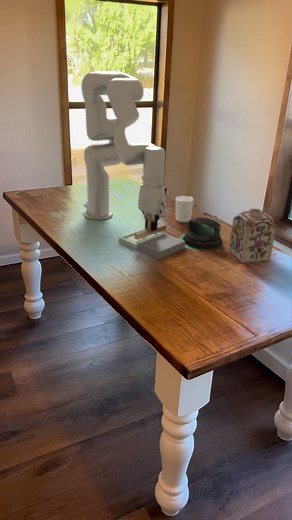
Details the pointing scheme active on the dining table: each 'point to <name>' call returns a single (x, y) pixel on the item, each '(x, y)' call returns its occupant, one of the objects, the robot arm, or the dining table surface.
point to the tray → (129, 243)
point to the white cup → (183, 208)
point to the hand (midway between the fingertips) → (151, 228)
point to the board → (160, 246)
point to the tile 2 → (148, 237)
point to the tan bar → (148, 231)
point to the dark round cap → (202, 234)
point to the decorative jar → (252, 236)
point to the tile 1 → (134, 239)
